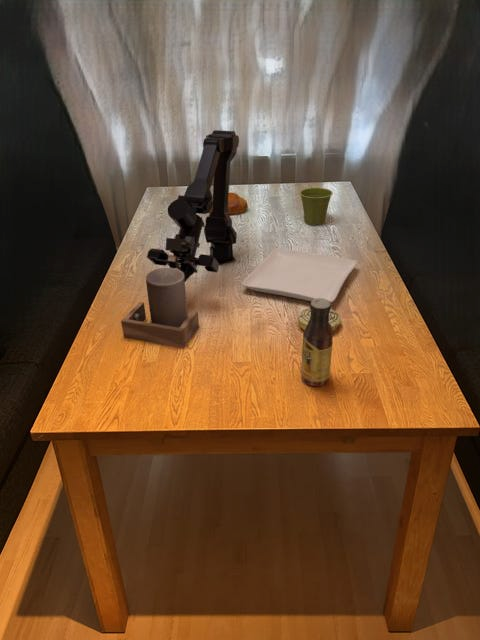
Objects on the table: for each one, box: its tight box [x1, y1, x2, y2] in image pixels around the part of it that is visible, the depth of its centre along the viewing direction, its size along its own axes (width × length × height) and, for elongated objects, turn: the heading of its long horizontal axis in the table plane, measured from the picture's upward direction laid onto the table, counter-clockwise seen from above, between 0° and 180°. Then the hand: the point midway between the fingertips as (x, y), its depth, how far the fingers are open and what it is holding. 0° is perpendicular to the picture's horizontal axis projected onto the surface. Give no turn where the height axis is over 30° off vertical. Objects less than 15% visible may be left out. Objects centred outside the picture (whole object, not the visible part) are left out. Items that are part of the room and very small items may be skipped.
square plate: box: [241, 248, 359, 304], centre depth 155 cm, size 27×27×4 cm
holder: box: [120, 301, 200, 349], centre depth 133 cm, size 10×16×5 cm, turn 71°
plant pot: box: [298, 187, 334, 226], centre depth 192 cm, size 12×12×11 cm
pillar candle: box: [145, 267, 188, 328], centre depth 134 cm, size 10×10×15 cm
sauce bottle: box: [300, 298, 334, 387], centre depth 111 cm, size 7×6×20 cm
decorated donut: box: [297, 307, 342, 333], centre depth 134 cm, size 10×11×4 cm
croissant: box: [209, 191, 249, 215], centre depth 207 cm, size 14×16×8 cm
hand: (175, 290), depth 138 cm, fingers closed, pressing on pillar candle
